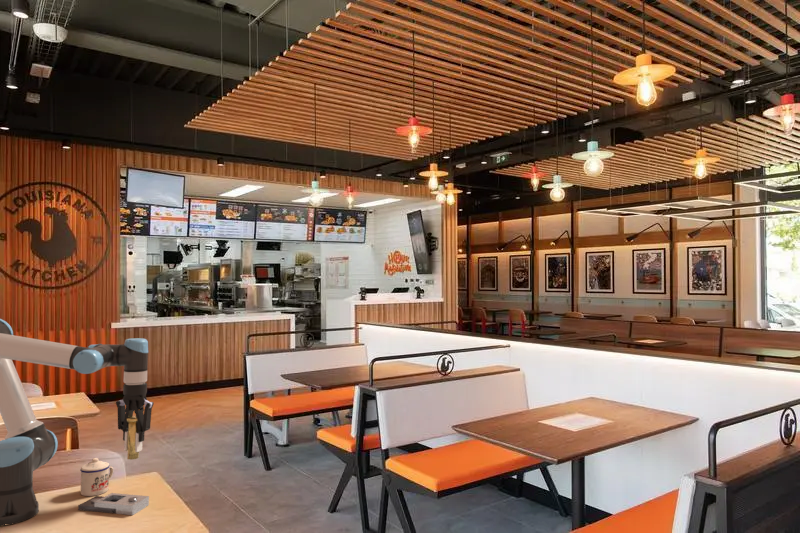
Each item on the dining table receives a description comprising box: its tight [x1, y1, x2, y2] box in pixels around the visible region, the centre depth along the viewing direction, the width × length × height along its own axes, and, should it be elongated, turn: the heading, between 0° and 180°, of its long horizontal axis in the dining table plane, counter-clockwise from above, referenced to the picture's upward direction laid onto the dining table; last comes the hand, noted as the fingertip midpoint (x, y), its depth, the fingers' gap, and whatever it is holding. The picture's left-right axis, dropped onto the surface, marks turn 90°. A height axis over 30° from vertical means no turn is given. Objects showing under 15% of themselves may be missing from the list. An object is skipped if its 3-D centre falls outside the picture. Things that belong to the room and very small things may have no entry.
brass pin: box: [127, 415, 140, 461], centre depth 195 cm, size 5×5×14 cm
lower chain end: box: [77, 495, 118, 514], centre depth 184 cm, size 14×8×2 cm, turn 78°
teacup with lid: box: [80, 457, 114, 497], centre depth 199 cm, size 12×9×12 cm
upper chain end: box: [94, 492, 150, 516], centre depth 183 cm, size 14×8×4 cm, turn 78°
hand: (133, 450), depth 195 cm, fingers closed on brass pin, 3 cm apart
